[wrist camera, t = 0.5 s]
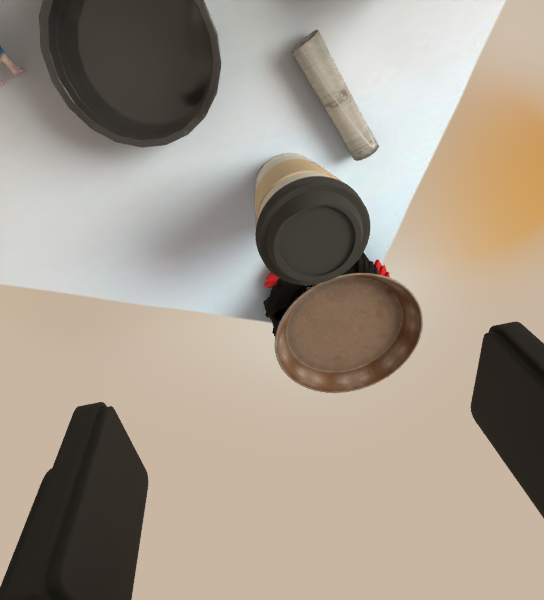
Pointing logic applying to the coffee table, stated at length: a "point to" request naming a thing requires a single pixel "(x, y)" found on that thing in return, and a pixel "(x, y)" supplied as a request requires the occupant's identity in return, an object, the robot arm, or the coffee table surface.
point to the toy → (287, 291)
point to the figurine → (9, 65)
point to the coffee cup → (307, 221)
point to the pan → (133, 65)
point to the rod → (335, 95)
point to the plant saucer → (348, 332)
